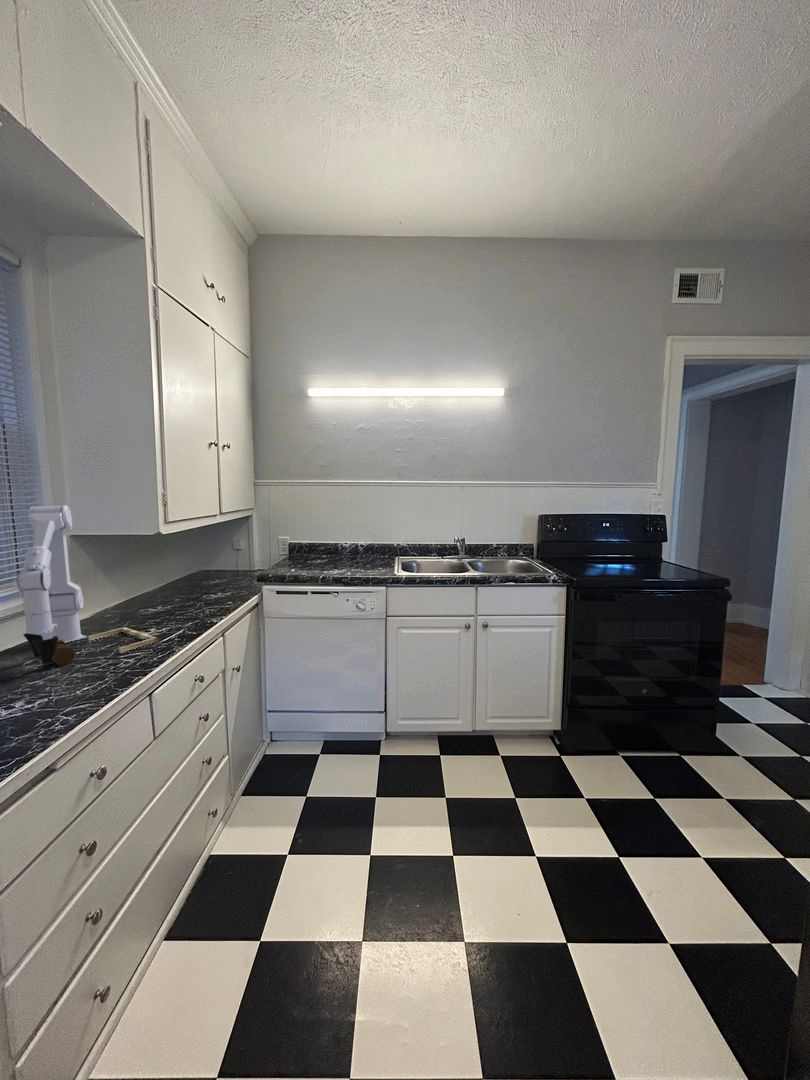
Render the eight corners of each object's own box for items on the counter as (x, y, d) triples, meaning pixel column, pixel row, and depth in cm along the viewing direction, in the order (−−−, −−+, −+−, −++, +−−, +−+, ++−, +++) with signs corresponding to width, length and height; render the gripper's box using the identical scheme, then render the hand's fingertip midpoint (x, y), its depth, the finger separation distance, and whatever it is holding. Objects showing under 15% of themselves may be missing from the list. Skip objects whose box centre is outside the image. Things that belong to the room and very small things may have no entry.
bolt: (60, 656, 145) (69, 668, 134) (41, 652, 141) (48, 663, 130) (69, 638, 146) (79, 648, 135) (51, 633, 143) (59, 643, 132)
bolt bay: (88, 640, 153) (87, 636, 153) (124, 631, 162) (124, 626, 162) (121, 653, 141) (120, 648, 141) (158, 642, 150) (157, 637, 150)
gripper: (62, 613, 131) (68, 660, 132) (47, 605, 140) (52, 649, 141) (31, 619, 125) (37, 668, 127) (17, 610, 134) (23, 656, 136)
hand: (43, 659), depth 134 cm, fingers open, 7 cm apart
